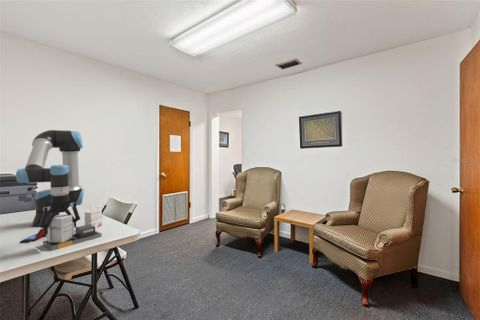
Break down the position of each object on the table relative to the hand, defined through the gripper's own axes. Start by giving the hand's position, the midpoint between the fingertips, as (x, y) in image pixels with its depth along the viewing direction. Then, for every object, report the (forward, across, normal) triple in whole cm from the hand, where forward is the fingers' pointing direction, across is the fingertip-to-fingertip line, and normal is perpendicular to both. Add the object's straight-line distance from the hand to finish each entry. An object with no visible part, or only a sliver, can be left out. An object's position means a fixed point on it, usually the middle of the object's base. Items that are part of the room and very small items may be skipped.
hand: (60, 236), depth 118 cm
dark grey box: (+4, +12, 0) cm, 12 cm away
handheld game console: (+5, -4, +22) cm, 23 cm away
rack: (+4, +6, 0) cm, 7 cm away
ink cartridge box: (+5, +22, +15) cm, 27 cm away
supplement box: (+2, 0, 0) cm, 2 cm away
